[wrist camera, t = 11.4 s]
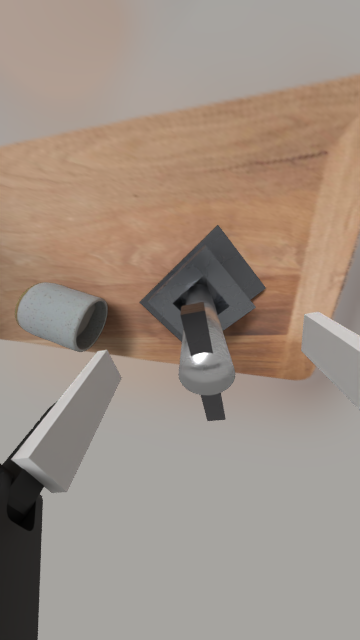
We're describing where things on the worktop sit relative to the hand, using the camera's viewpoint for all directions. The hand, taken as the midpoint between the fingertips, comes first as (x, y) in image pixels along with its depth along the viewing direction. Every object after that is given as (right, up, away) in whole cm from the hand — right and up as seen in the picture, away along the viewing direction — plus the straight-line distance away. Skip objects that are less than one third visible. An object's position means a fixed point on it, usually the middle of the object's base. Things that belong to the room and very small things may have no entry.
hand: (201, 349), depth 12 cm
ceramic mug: (-17, +3, +15) cm, 23 cm away
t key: (+1, +5, +12) cm, 13 cm away
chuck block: (+1, +6, +12) cm, 14 cm away
